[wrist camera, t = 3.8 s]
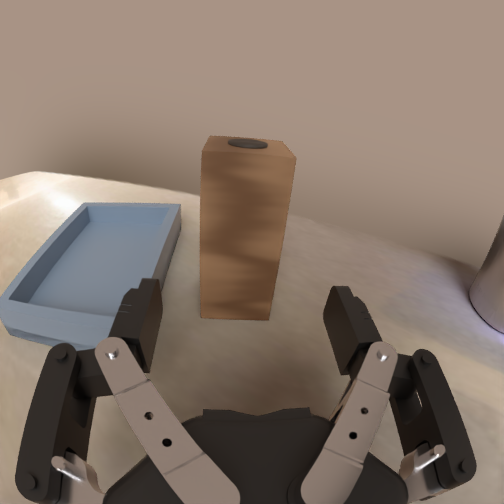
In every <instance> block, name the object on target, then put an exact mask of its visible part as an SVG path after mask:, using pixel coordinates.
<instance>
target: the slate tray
mask: <svg viewBox="0 0 504 504" xmlns="http://www.w3.org/2000/svg"><path fill="white" fill-rule="evenodd" d="M180 230H181V204H160V203H83V204H82V205H81V206H80V207H79V208H78V209H77V210H76V211H75V212H74V213H73V214H72V215H71V216H70V217H69V218H68V219H67V220H66V221H65V222H64V223H63V224H62V225H61V226H60V227H59V228H58V229H57V230H56V231H55V232H54V233H53V234H52V235H51V236H50V237H49V239H48V240H47V241H46V242H45V243H44V244H43V245H42V246H41V247H40V249H39V250H38V251H37V252H36V253H35V254H34V255H33V257H32V258H31V259H30V260H29V261H28V262H27V264H26V265H25V266H24V267H23V268H22V270H21V271H20V272H19V273H18V275H17V276H16V277H15V279H14V280H13V281H12V282H11V284H10V285H9V286H8V288H7V289H6V290H5V292H4V293H3V294H2V296H1V297H0V318H1V320H2V322H3V324H4V326H5V327H6V329H7V331H8V332H9V334H10V335H13V336H16V337H20V338H23V339H27V340H30V341H34V342H38V343H42V344H46V345H50V346H55V345H57V344H60V343H69V344H71V345H72V346H73V347H74V348H75V349H76V351H80V350H87V349H93V348H96V346H97V345H98V343H99V342H100V341H102V340H103V339H105V338H107V337H108V335H109V332H110V330H111V327H112V324H113V322H114V319H115V317H116V314H117V312H118V309H119V306H120V305H121V301H122V299H123V296H124V295H125V294H126V293H127V292H128V291H129V290H130V289H131V288H137V289H138V287H139V284H140V282H141V279H142V278H154V279H159V283H160V290H161V291H162V288H163V284H164V281H165V277H166V274H167V271H168V268H169V264H170V261H171V258H172V255H173V252H174V248H175V245H176V242H177V239H178V236H179V233H180Z"/></svg>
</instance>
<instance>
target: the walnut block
mask: <svg viewBox="0 0 504 504" xmlns="http://www.w3.org/2000/svg"><path fill="white" fill-rule="evenodd" d="M295 165H296V157H295V156H294V155H293V153H292V152H291V151H290V150H289V149H288V147H287V146H286V145H285V144H284V143H283V142H282V141H274V140H265V139H254V138H240V137H225V136H210V137H209V138H208V140H207V142H206V144H205V146H204V148H203V150H202V163H201V193H200V301H201V318H212V319H235V320H269V315H270V310H271V305H272V299H273V294H274V289H275V283H276V278H277V272H278V267H279V261H280V256H281V250H282V244H283V239H284V233H285V227H286V221H287V215H288V209H289V202H290V197H291V190H292V184H293V177H294V171H295Z"/></svg>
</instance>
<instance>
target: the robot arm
mask: <svg viewBox="0 0 504 504" xmlns="http://www.w3.org/2000/svg"><path fill="white" fill-rule="evenodd" d="M469 296H470V300H471V302H472V304H473V306H474V308H475V309H476V311H477V312H478V313H479V314H480V316H481V317H482V318H483V319H484V320H485V321H486V322H487V323H488V324H490V325H491V326H492V327H493V328H495V329H497V330H498V331H500V332H502V333H504V216H503V218H502V221H501V223H500V226H499V229H498V231H497V233H496V236H495V238H494V241H493V243H492V245H491V248H490V250H489V252H488V254H487V256H486V258H485V261H484V263H483V265H482V267H481V269H480V271H479V273H478V275H477V276H476V278H475V280H474V282H473V284H472V286H471V288H470V290H469ZM162 311H163V305H162V297H161V290H160V283H159V279H154V278H142V279H141V282H140V284H139V287H138V289H137V288H131V289H130V290H129V291H128V292H127V293H126V294H125V295H124V296H123V299H122V301H121V305H120V306H119V309H118V312H117V314H116V317H115V319H114V322H113V324H112V327H111V330H110V332H109V335H108V337H107V338H105V339H103V340H102V341H100V342H99V343H98V345H97V346H96V348H93V349H87V350H80V351H76V349H75V348H74V347H73V346H72V345H71V344H69V343H60V344H57V345H55V346H54V347H52V348H51V349H50V351H49V353H48V355H47V358H46V360H45V363H44V366H43V369H42V371H41V374H40V377H39V380H38V383H37V386H36V389H35V392H34V396H33V399H32V402H31V406H30V409H29V413H28V416H27V420H26V424H25V428H24V432H23V437H22V441H21V446H20V451H19V456H18V461H17V467H16V474H15V482H16V486H17V488H18V490H19V492H20V493H21V494H22V495H23V496H24V497H25V498H26V499H28V500H30V501H33V502H35V503H38V504H409V503H412V502H414V501H417V500H421V501H424V500H427V499H430V498H432V497H435V496H437V495H440V494H442V493H444V492H447V491H449V490H451V489H453V488H455V487H458V486H460V485H462V484H464V483H466V482H468V481H469V480H471V479H472V478H473V476H474V474H475V472H476V460H475V457H474V453H473V450H472V447H471V444H470V441H469V438H468V435H467V432H466V429H465V426H464V423H463V421H462V418H461V415H460V413H459V410H458V407H457V405H456V402H455V400H454V397H453V395H452V393H451V390H450V388H449V385H448V383H447V381H446V378H445V376H444V374H443V372H442V369H441V367H440V365H439V363H438V361H437V359H436V357H435V356H434V355H433V354H432V353H431V352H430V351H428V350H425V349H419V350H417V351H416V352H415V353H414V354H413V355H412V356H408V355H403V354H398V353H397V352H396V350H395V349H394V348H393V347H392V346H391V345H390V344H388V343H386V342H383V341H382V339H381V337H380V334H379V332H378V330H377V328H376V326H375V324H374V322H373V320H372V319H371V316H370V314H369V313H368V312H369V311H368V309H367V307H366V305H365V304H364V303H363V302H362V301H361V300H360V299H359V298H358V297H354V296H353V294H352V292H351V290H350V288H349V287H348V286H333V287H332V288H331V290H330V293H329V296H328V299H327V302H326V305H325V308H324V312H323V319H324V324H325V327H326V330H327V333H328V336H329V339H330V342H331V345H332V348H333V352H334V355H335V358H336V361H337V365H338V368H339V371H340V374H341V375H350V378H351V379H350V380H349V382H348V384H347V386H346V388H345V390H344V392H343V394H342V396H341V398H340V400H339V402H338V404H337V406H336V407H335V409H334V411H333V413H332V414H331V416H330V417H329V419H328V420H327V419H325V418H323V417H320V416H317V415H313V414H310V409H309V407H307V408H295V409H283V410H280V411H276V412H273V413H269V414H265V415H261V416H254V415H249V414H244V413H240V412H236V411H231V410H209V409H203V416H198V417H195V418H191V419H189V420H187V421H185V422H183V423H180V422H179V421H178V419H177V418H176V417H175V415H174V414H173V412H172V411H171V410H170V408H169V407H168V405H167V404H166V403H165V401H164V400H163V398H162V397H161V395H160V394H159V392H158V391H157V389H156V388H155V386H154V385H153V383H152V382H151V381H150V380H149V379H147V378H146V376H145V375H144V373H150V369H151V364H152V359H153V354H154V349H155V345H156V340H157V335H158V331H159V327H160V322H161V318H162ZM416 392H418V395H419V398H420V400H421V403H422V407H421V404H420V401H419V398H418V396H417V393H416ZM108 395H114V397H115V399H116V401H117V403H118V405H119V407H120V409H121V411H122V413H123V414H124V416H125V418H126V420H127V421H128V423H129V425H130V427H131V428H132V430H133V432H134V433H135V435H136V437H137V438H138V440H139V441H140V443H141V445H142V446H143V448H144V449H145V451H146V452H147V455H146V456H145V457H144V458H143V459H142V460H141V461H140V462H139V463H137V464H136V465H135V466H134V467H133V468H132V469H131V470H130V471H129V472H127V473H126V474H125V475H124V476H123V477H122V478H121V479H120V480H118V481H117V482H116V483H115V484H114V485H113V486H111V487H110V488H109V490H108V491H107V492H106V494H104V493H103V492H102V491H101V489H100V487H99V485H98V480H97V474H96V472H95V470H94V468H93V467H92V466H91V465H90V464H88V463H87V462H86V460H87V452H88V445H89V438H90V431H91V425H92V419H93V414H94V408H95V403H96V398H97V397H100V396H108ZM388 400H389V401H390V405H391V408H392V411H393V415H394V418H395V422H396V426H397V429H398V433H399V437H400V441H401V445H402V449H403V453H404V458H403V459H402V461H401V465H400V469H399V474H397V473H396V472H395V471H393V470H392V469H391V468H389V467H388V466H387V465H385V464H384V463H383V462H381V461H380V460H379V459H377V458H376V457H375V456H374V455H372V454H371V453H370V452H368V451H369V448H370V446H371V444H372V442H373V439H374V437H375V434H376V432H377V429H378V427H379V424H380V422H381V419H382V417H383V414H384V411H385V408H386V406H387V403H388Z"/></svg>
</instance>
